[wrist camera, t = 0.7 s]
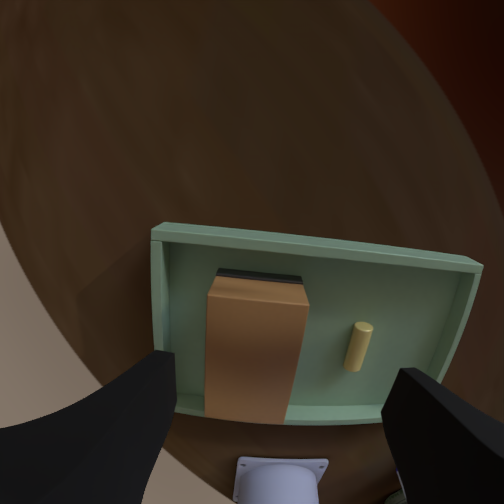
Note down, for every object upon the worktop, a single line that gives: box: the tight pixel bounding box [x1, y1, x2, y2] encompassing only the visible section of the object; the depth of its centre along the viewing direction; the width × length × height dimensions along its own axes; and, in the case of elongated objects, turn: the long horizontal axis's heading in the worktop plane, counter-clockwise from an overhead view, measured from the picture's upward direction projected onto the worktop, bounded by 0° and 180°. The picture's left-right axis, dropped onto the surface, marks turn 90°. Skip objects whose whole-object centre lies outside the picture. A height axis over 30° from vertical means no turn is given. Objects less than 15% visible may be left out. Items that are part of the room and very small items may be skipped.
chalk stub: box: [343, 322, 373, 372], centre depth 16 cm, size 3×1×1 cm
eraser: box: [204, 268, 310, 425], centre depth 15 cm, size 8×4×4 cm, turn 175°
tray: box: [151, 222, 483, 425], centre depth 17 cm, size 12×19×2 cm, turn 85°
